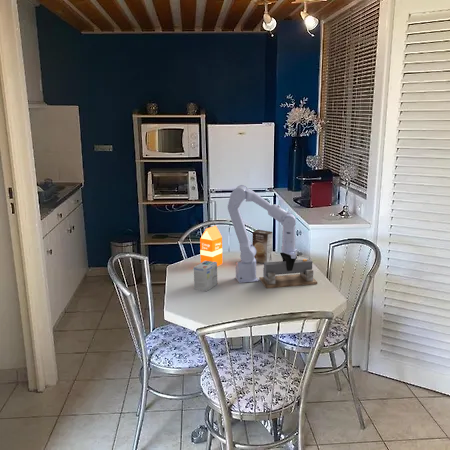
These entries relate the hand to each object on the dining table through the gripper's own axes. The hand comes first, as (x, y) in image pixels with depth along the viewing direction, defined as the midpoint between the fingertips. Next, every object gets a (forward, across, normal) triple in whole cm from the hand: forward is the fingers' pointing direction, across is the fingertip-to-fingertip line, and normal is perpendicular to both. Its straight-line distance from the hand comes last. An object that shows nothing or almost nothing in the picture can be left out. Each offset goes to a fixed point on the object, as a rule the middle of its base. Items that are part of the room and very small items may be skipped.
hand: (288, 269), depth 218 cm
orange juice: (+6, +33, +30) cm, 45 cm away
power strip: (+2, 0, 0) cm, 2 cm away
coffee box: (+6, +33, +3) cm, 34 cm away
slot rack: (+6, 0, 0) cm, 6 cm away
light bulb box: (+6, +2, +38) cm, 39 cm away
